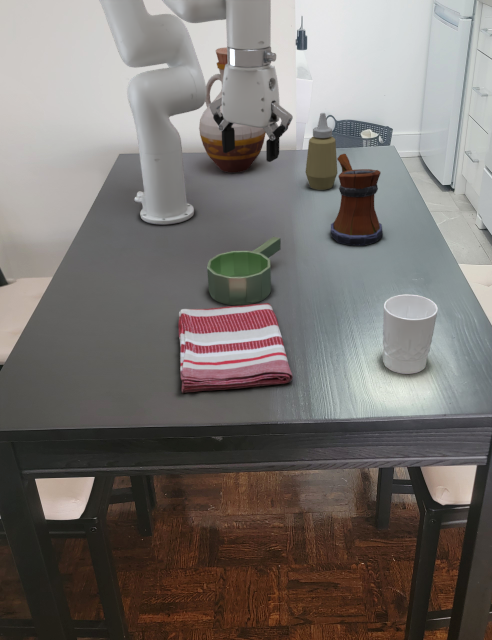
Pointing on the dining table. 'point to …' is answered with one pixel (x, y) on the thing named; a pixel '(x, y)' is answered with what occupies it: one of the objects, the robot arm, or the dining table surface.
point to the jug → (245, 136)
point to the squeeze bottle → (321, 157)
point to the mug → (356, 206)
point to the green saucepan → (242, 274)
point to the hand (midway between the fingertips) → (250, 155)
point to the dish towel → (231, 348)
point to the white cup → (408, 332)
